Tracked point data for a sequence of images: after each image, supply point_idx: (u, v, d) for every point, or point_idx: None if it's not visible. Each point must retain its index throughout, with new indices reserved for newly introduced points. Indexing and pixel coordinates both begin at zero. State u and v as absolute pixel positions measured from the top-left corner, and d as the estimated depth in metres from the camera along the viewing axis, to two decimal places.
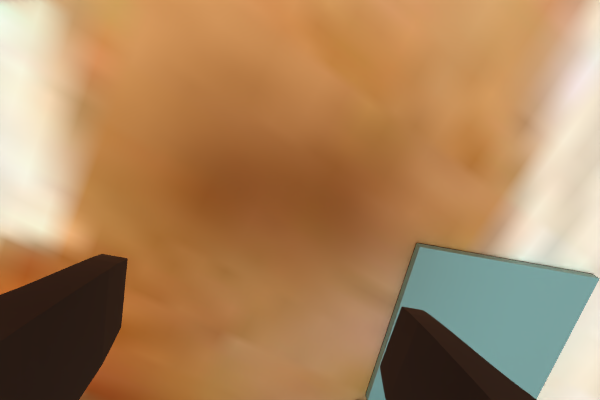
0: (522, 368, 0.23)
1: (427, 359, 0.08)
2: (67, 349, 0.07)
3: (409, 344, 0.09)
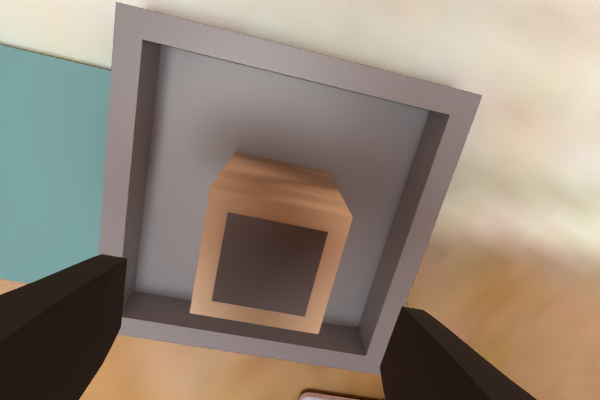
0: (16, 97, 0.15)
1: (427, 359, 0.08)
2: (66, 350, 0.07)
3: (409, 344, 0.09)
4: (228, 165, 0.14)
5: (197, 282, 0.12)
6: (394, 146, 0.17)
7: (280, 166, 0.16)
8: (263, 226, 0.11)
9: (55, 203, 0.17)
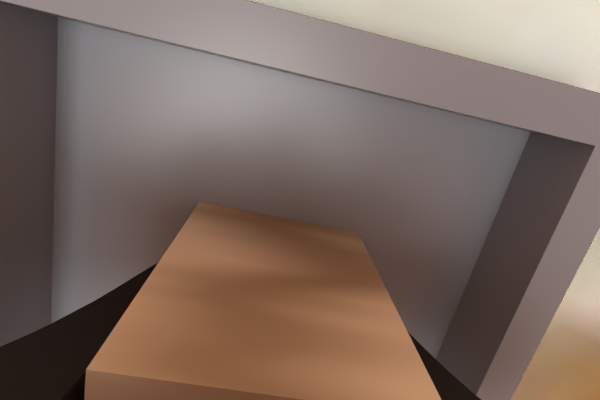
0: None
1: None
2: None
3: None
4: (174, 247, 0.07)
5: None
6: (467, 191, 0.10)
7: (276, 232, 0.09)
8: None
9: None
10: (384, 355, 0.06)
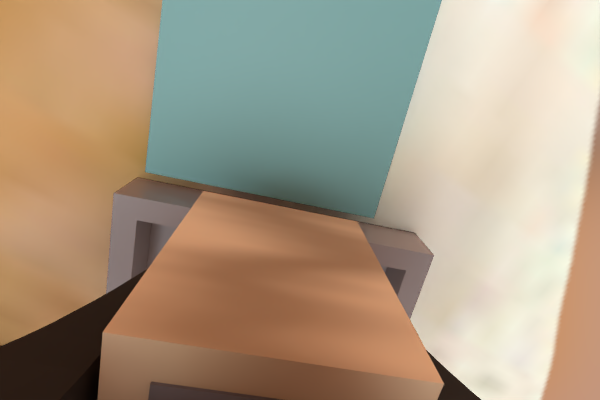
0: (359, 126, 0.16)
1: None
2: None
3: None
4: (180, 231, 0.07)
5: None
6: None
7: (278, 219, 0.09)
8: None
9: (253, 141, 0.16)
10: (381, 328, 0.06)
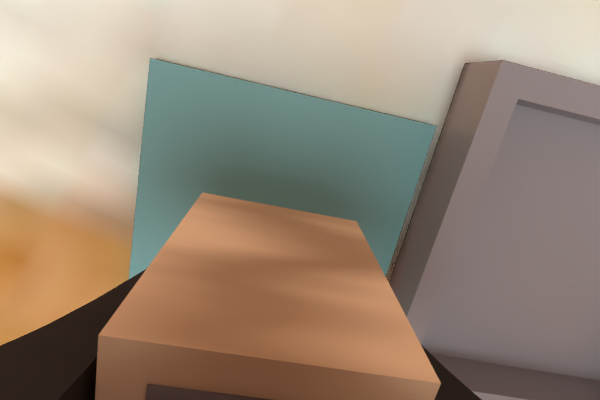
0: (323, 151, 0.14)
1: None
2: None
3: None
4: (178, 232, 0.07)
5: None
6: None
7: (276, 219, 0.09)
8: None
9: None
10: (378, 327, 0.06)
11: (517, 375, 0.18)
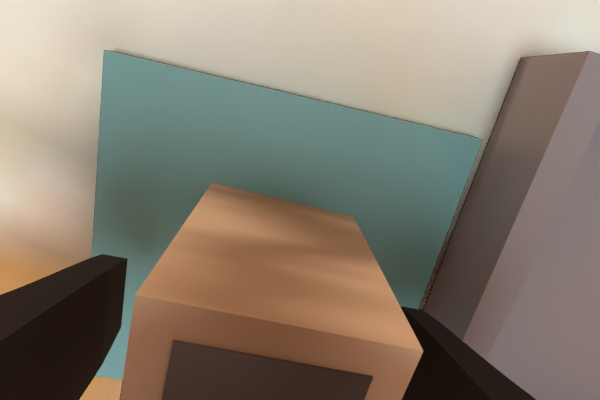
0: (334, 172, 0.11)
1: (427, 359, 0.08)
2: (67, 349, 0.07)
3: None
4: (193, 216, 0.08)
5: None
6: None
7: (280, 210, 0.10)
8: (246, 365, 0.06)
9: None
10: (371, 305, 0.07)
11: None
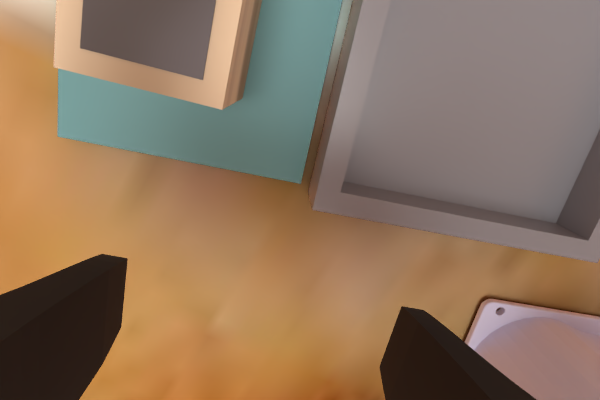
0: None
1: (427, 359, 0.08)
2: (67, 349, 0.07)
3: (409, 344, 0.09)
4: None
5: (59, 19, 0.09)
6: None
7: None
8: None
9: (268, 73, 0.16)
10: None
11: (460, 207, 0.18)
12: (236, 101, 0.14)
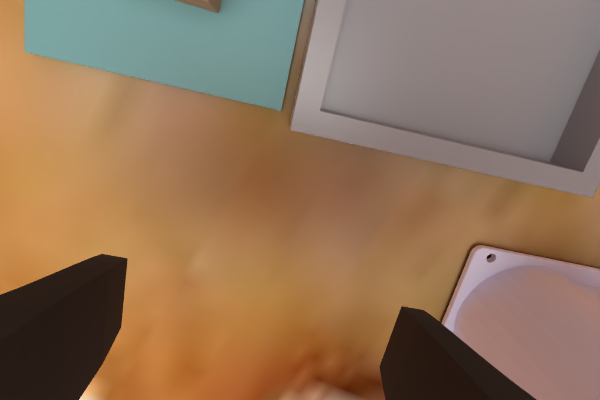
0: None
1: (427, 359, 0.08)
2: (67, 349, 0.07)
3: (409, 344, 0.09)
4: None
5: None
6: None
7: None
8: None
9: None
10: None
11: (448, 139, 0.17)
12: (207, 1, 0.13)
